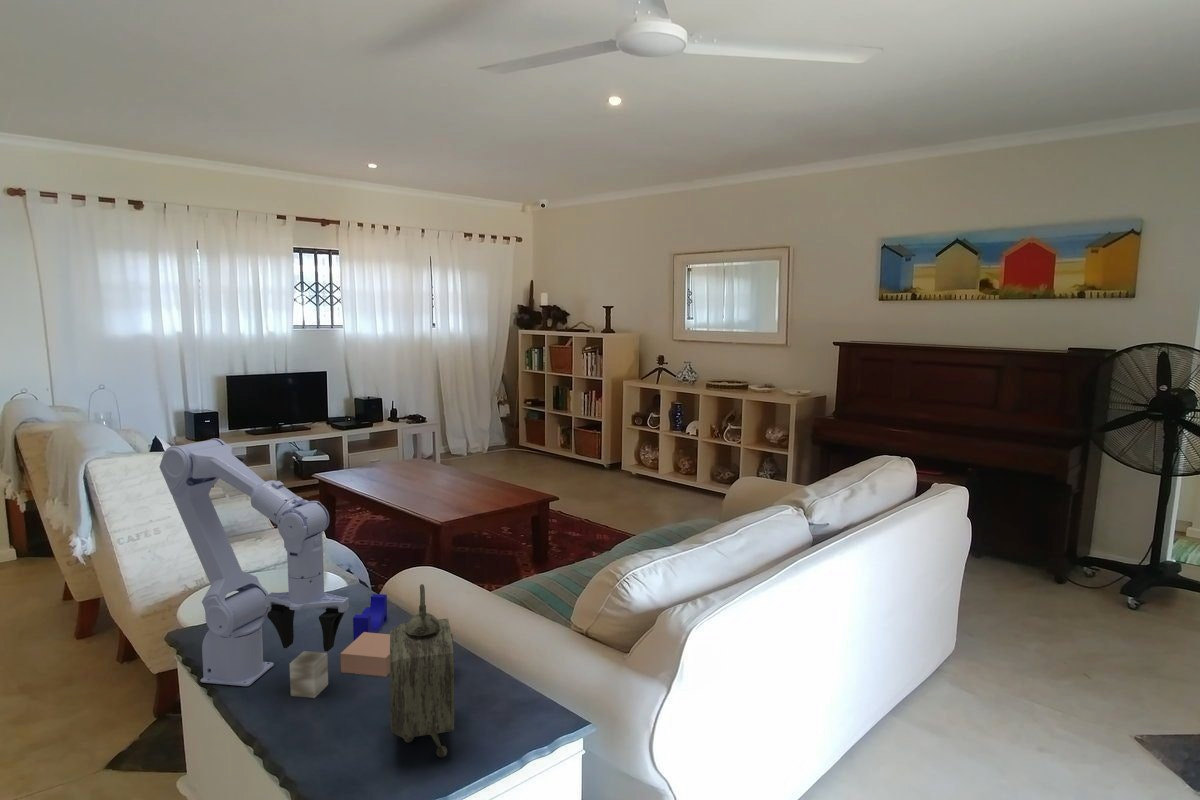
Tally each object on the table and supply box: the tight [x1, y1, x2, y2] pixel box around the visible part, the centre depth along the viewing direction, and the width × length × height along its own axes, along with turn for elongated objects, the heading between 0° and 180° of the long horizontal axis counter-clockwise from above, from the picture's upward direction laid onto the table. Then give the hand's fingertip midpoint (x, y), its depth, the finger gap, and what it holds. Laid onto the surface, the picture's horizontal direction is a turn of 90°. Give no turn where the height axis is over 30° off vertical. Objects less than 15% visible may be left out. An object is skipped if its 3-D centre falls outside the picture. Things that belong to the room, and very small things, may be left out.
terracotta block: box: [339, 632, 390, 678], centre depth 132 cm, size 9×9×4 cm
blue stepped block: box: [352, 593, 388, 641], centre depth 145 cm, size 12×4×6 cm, turn 179°
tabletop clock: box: [389, 583, 455, 759], centre depth 107 cm, size 14×9×25 cm, turn 17°
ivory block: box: [289, 650, 329, 699], centre depth 122 cm, size 4×4×6 cm
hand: (308, 647), depth 121 cm, fingers open, 7 cm apart
